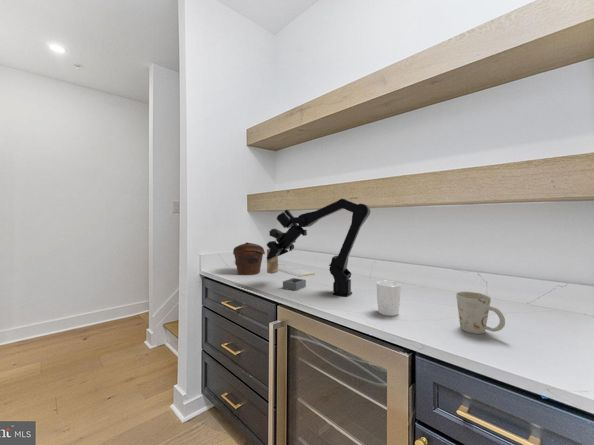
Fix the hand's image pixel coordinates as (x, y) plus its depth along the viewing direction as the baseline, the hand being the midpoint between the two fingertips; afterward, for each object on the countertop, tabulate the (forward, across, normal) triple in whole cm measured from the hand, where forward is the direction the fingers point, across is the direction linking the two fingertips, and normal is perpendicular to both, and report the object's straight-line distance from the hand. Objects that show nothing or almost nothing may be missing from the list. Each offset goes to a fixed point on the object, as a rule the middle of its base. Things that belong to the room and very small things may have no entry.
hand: (269, 258), depth 130 cm
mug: (-47, +24, +66) cm, 84 cm away
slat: (+4, 0, +6) cm, 7 cm away
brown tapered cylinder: (+28, -23, -9) cm, 37 cm away
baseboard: (+14, -36, +6) cm, 39 cm away
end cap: (+1, -2, +18) cm, 18 cm away
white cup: (-29, +16, +48) cm, 59 cm away
